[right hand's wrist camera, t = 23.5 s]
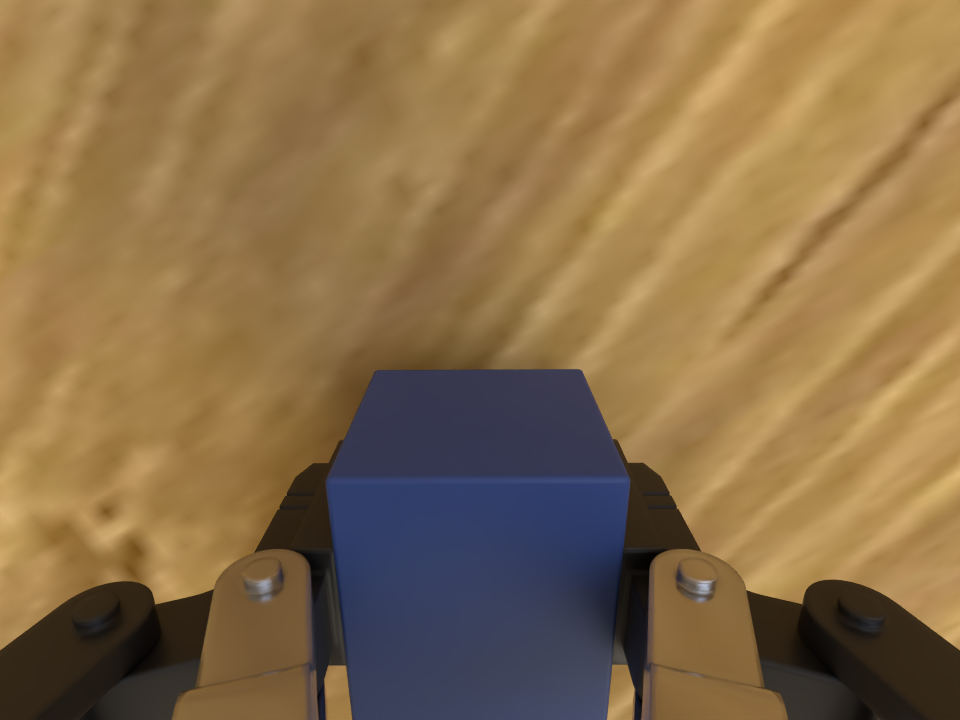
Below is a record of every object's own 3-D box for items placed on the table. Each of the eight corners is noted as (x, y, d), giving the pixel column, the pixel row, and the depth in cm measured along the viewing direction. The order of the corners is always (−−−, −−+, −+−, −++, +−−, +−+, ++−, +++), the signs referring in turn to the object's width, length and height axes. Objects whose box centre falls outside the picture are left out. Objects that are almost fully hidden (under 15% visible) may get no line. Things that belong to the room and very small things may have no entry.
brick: (389, 565, 14) (352, 736, 10) (373, 368, 12) (322, 479, 8) (570, 565, 14) (607, 735, 10) (582, 367, 12) (632, 478, 8)
